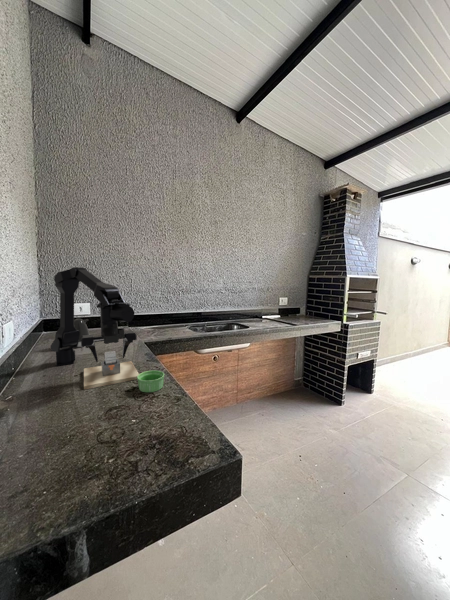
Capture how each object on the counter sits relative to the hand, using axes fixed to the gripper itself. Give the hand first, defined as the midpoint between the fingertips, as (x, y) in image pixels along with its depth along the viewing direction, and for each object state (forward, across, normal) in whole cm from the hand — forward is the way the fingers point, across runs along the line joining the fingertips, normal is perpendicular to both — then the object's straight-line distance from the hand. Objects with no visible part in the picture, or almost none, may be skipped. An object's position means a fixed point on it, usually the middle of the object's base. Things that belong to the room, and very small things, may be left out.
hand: (110, 359), depth 92 cm
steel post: (+5, 0, 0) cm, 5 cm away
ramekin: (+6, +11, -18) cm, 22 cm away
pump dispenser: (+6, -11, +51) cm, 53 cm away
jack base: (+6, 0, 0) cm, 6 cm away
